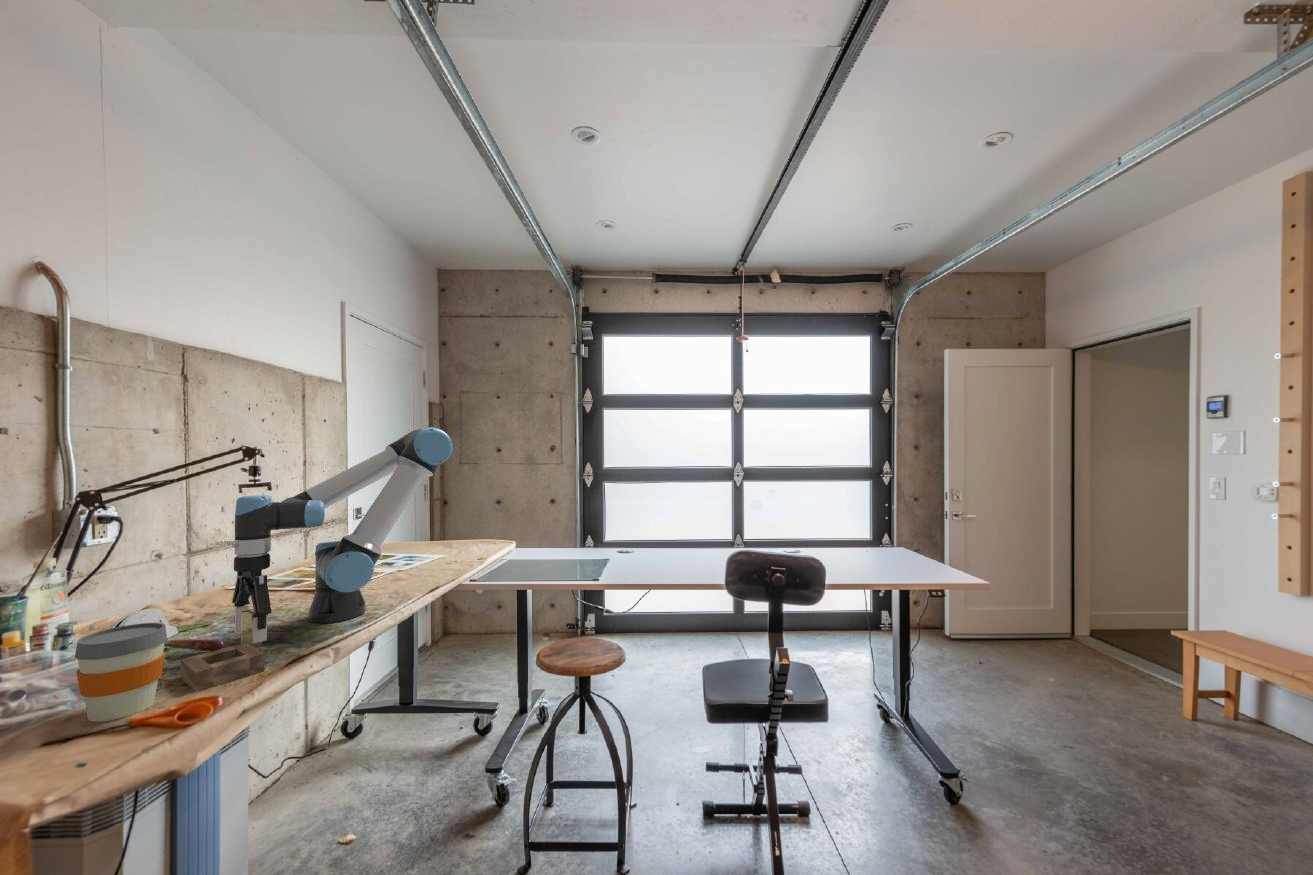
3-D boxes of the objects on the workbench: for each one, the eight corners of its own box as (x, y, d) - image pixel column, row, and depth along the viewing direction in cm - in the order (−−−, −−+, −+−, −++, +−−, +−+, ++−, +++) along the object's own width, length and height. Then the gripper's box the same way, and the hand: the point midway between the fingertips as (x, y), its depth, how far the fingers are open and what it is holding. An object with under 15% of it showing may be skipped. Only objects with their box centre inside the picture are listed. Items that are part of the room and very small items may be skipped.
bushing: (258, 641, 136) (259, 607, 136) (264, 644, 133) (265, 610, 133) (238, 646, 132) (238, 611, 132) (244, 650, 130) (244, 614, 130)
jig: (246, 659, 124) (246, 642, 124) (264, 670, 117) (264, 653, 117) (180, 677, 114) (180, 659, 114) (195, 691, 107) (196, 672, 107)
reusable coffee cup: (161, 688, 108) (162, 618, 109) (171, 706, 100) (172, 630, 101) (72, 712, 99) (73, 635, 99) (74, 734, 91) (76, 650, 91)
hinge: (139, 654, 128) (123, 618, 127) (117, 663, 126) (100, 626, 126) (179, 632, 144) (164, 599, 143) (159, 639, 142) (145, 607, 141)
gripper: (219, 551, 137) (216, 630, 137) (251, 562, 123) (249, 650, 122) (253, 547, 144) (251, 623, 143) (288, 557, 129) (285, 641, 128)
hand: (250, 636), depth 132 cm, fingers open, 13 cm apart
